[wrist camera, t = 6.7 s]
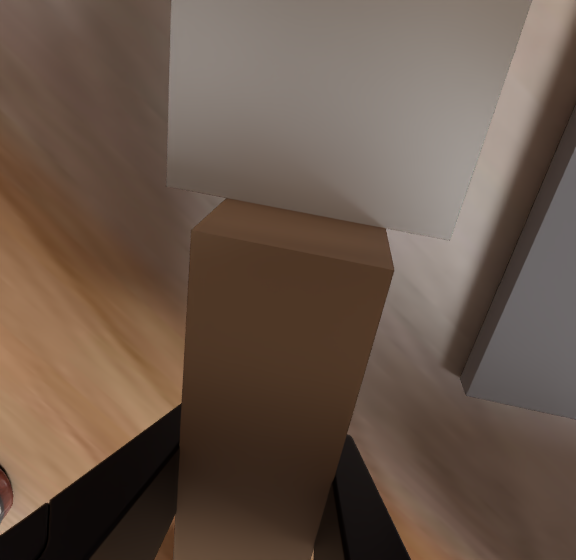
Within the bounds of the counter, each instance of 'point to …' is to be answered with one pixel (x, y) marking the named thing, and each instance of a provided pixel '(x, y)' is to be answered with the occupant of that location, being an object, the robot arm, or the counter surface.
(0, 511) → the supplement bottle
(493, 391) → the mat
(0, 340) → the counter surface
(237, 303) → the two-tone stepped block
